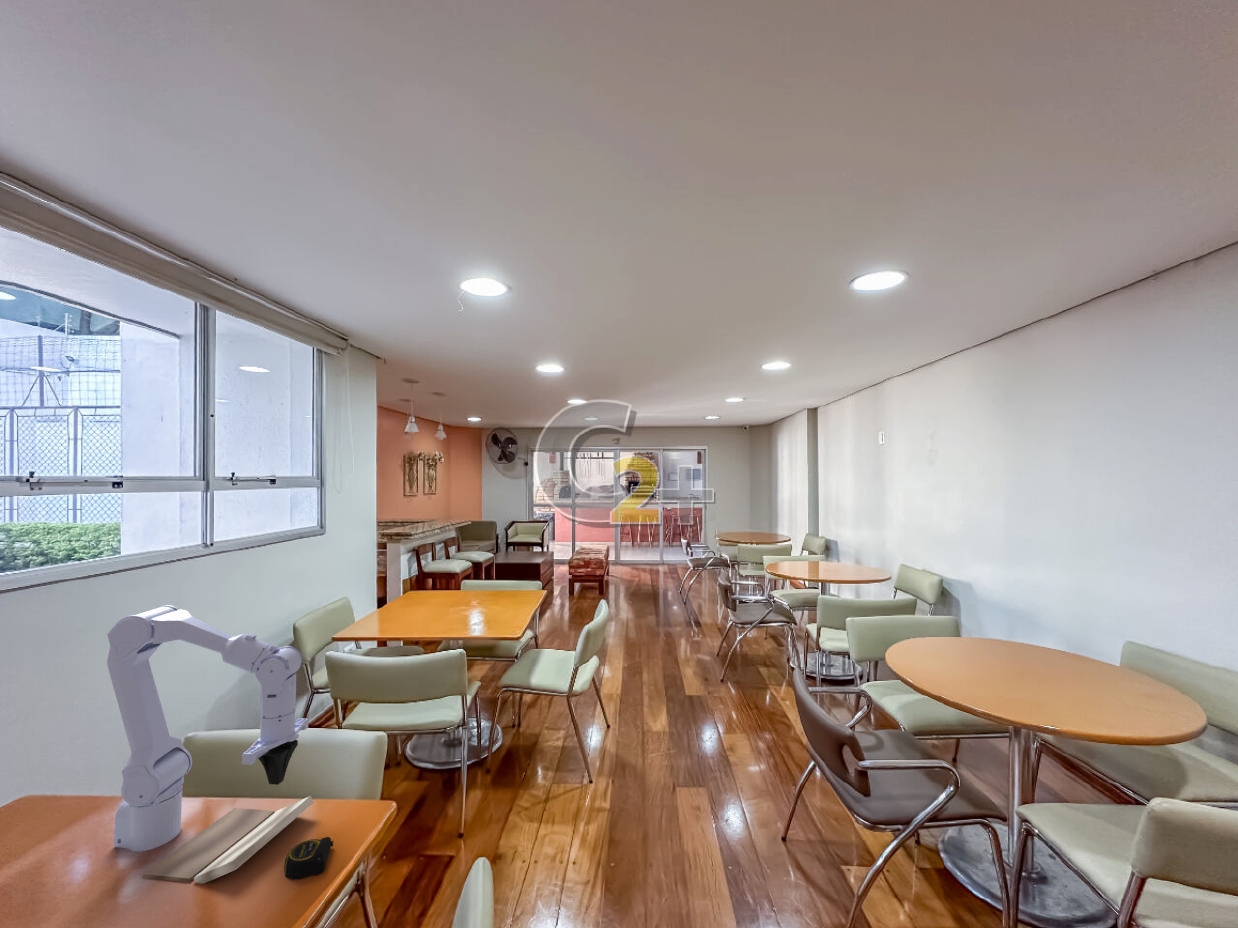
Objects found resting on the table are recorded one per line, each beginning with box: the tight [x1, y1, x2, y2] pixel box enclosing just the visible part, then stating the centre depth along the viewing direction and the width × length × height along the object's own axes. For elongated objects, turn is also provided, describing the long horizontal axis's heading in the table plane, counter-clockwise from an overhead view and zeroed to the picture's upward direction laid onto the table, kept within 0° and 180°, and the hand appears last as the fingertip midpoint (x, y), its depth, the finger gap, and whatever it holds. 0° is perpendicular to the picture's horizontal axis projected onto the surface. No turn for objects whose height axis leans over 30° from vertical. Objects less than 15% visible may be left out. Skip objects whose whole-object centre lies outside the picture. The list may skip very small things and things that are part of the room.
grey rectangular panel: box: [142, 807, 275, 883], centre depth 94 cm, size 9×18×2 cm, turn 173°
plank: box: [193, 795, 314, 884], centre depth 93 cm, size 8×18×2 cm, turn 174°
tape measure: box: [283, 836, 334, 881], centre depth 89 cm, size 7×7×4 cm
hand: (276, 782), depth 99 cm, fingers closed
